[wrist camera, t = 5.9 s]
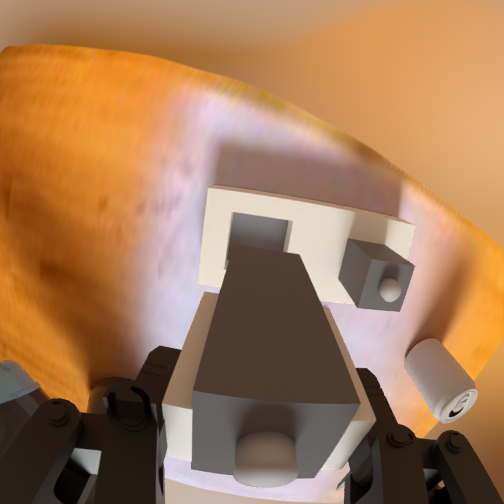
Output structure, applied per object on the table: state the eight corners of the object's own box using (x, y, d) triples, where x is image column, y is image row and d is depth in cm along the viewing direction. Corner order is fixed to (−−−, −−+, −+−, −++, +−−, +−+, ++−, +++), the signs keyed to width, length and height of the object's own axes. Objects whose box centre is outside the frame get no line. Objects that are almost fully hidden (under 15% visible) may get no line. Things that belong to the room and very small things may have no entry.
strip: (204, 269, 31) (180, 321, 20) (214, 184, 28) (190, 196, 18) (378, 292, 31) (421, 344, 21) (398, 217, 29) (456, 244, 18)
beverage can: (396, 372, 35) (429, 430, 24) (411, 336, 33) (453, 392, 22) (429, 368, 35) (464, 420, 24) (444, 333, 33) (488, 383, 22)
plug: (225, 303, 18) (186, 493, 6) (233, 244, 17) (184, 422, 5) (286, 312, 19) (317, 501, 6) (299, 254, 17) (371, 433, 5)
